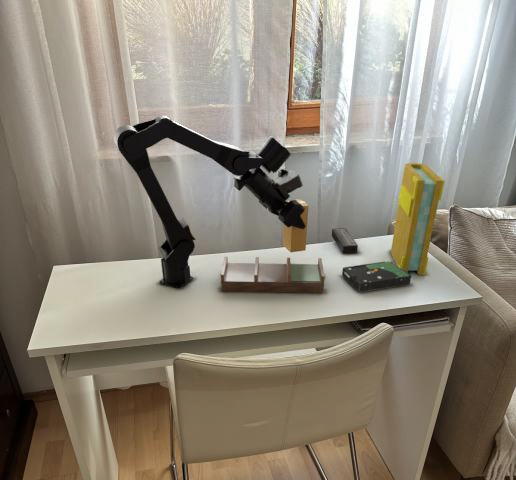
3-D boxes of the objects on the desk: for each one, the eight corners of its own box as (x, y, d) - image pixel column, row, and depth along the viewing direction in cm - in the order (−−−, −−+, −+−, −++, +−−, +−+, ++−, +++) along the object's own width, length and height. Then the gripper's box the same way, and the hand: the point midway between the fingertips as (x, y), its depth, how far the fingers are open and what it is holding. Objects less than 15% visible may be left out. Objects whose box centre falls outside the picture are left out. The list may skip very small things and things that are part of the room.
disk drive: (359, 294, 125) (410, 284, 129) (360, 284, 123) (412, 275, 127) (341, 276, 133) (389, 268, 137) (341, 267, 132) (391, 259, 135)
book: (425, 274, 134) (444, 180, 120) (400, 274, 134) (416, 180, 120) (410, 249, 148) (426, 163, 134) (387, 249, 148) (401, 162, 134)
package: (290, 252, 135) (292, 206, 128) (282, 245, 139) (284, 200, 132) (305, 250, 136) (308, 205, 129) (297, 243, 140) (300, 198, 133)
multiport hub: (342, 253, 146) (343, 246, 144) (331, 235, 158) (331, 228, 156) (357, 253, 146) (358, 245, 145) (344, 234, 158) (345, 227, 157)
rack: (221, 291, 125) (220, 274, 123) (225, 273, 135) (224, 256, 132) (323, 293, 125) (324, 276, 122) (320, 274, 134) (321, 258, 131)
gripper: (299, 170, 116) (337, 212, 125) (270, 153, 131) (306, 191, 140) (267, 207, 118) (306, 245, 127) (242, 186, 133) (279, 221, 142)
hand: (300, 224), depth 134 cm, fingers closed on package, 5 cm apart
